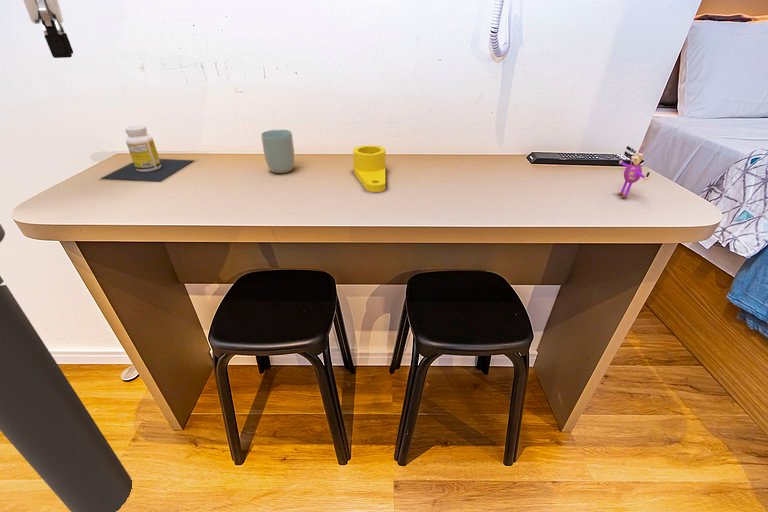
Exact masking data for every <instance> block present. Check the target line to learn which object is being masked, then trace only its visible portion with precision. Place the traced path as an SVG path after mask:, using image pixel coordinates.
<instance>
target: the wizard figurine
mask: <svg viewBox="0 0 768 512" xmlns="http://www.w3.org/2000/svg"><path fill="white" fill-rule="evenodd" d="M643 149H644V146H643V145H642V146H641V148H640V149H639V150H638V151H637V150H635V149H634V148H633V147H630V146H628V145H626V150H627V151H626V150H625V151H624V153H623V154H624V155H625V156H626V157H628V158H629V159H630V161H631V162H630V163H629V164H628V163H626V162H624V161H623V160H620V161H619V165H622V166H624V167H625V169H624V171H623V179H624V180H625V181H624V183H623V185H622V188H621V191H620V192H618V193H617V196H621V198H622V199H627V197H628V195H629V192H630V189H631V187H632V185H633V184H634V183H637V182H638V181H639V180H640V178H641V179H643V180H644V181H648V180H649V176H650V174H651V170H648V171H647V173H646V175H645V174H643V170H642V167H641V165H640V163H641V162H642V159H643V158H644V153H643ZM628 151H629V152H628ZM631 153H633V154H634V155H633V154H631ZM627 184H628V185H627ZM624 192H625V193H624Z"/></svg>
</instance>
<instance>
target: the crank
mask: <svg viewBox="0 0 768 512" xmlns="http://www.w3.org/2000/svg"><path fill="white" fill-rule="evenodd" d="M352 158H353V174H354V175H355V177H357V179H358V181H359V182H360V183H361V185H362V186H363V188H364V189H365V190H366V191H367V192H370V193H380V192H384V191H385V190H386V148H385V147H383V146H379V145H371V144H370V145H368V144H367V145H360V146H355V147H354V148H353V149H352Z"/></svg>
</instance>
